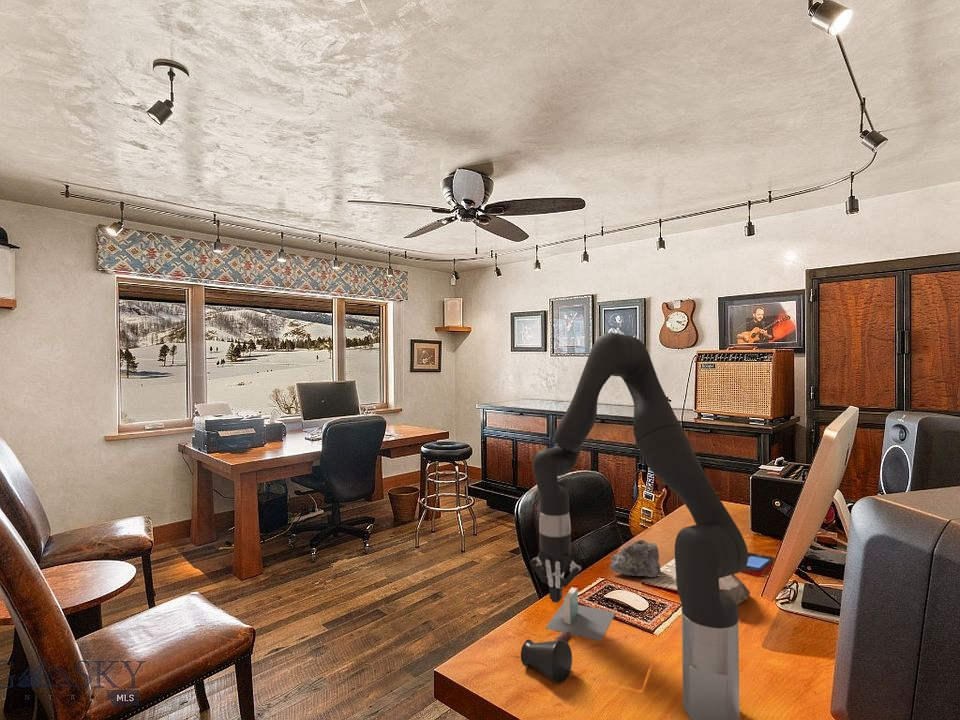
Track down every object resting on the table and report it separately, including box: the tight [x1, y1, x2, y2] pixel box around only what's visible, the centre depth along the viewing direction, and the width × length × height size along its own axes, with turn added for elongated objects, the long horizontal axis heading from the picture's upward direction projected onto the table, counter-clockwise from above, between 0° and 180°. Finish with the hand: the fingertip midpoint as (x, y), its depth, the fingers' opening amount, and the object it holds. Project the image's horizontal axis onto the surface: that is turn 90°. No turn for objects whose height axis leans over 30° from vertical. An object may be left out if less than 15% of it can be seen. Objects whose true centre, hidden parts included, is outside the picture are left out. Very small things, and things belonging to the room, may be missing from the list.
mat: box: [545, 602, 616, 642], centre depth 124 cm, size 14×13×1 cm
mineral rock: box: [609, 539, 662, 578], centre depth 150 cm, size 13×11×10 cm
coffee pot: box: [520, 631, 575, 684], centre depth 109 cm, size 8×18×8 cm
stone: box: [719, 574, 751, 606], centre depth 132 cm, size 15×9×10 cm
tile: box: [563, 586, 579, 624], centre depth 125 cm, size 6×2×6 cm, turn 152°
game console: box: [740, 551, 776, 577], centre depth 156 cm, size 14×13×2 cm
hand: (556, 601), depth 126 cm, fingers closed
